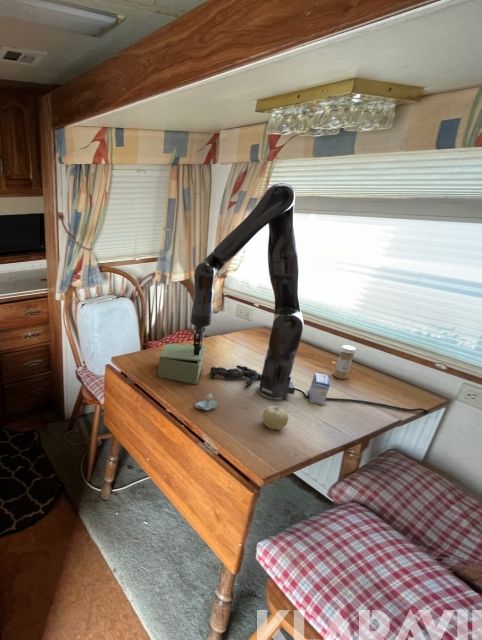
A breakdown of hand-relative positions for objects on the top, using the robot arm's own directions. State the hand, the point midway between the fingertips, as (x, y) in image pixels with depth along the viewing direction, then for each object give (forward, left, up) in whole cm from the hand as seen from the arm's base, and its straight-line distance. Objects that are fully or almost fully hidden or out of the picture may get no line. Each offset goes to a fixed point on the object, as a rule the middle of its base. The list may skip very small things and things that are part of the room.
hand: (197, 351), depth 145 cm
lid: (+6, 0, -2) cm, 6 cm away
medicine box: (-44, -1, -11) cm, 45 cm away
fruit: (-29, +24, -11) cm, 39 cm away
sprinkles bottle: (-55, -24, -11) cm, 61 cm away
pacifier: (-7, +22, -11) cm, 26 cm away
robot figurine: (-16, -5, -11) cm, 20 cm away
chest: (+6, 0, -11) cm, 13 cm away
